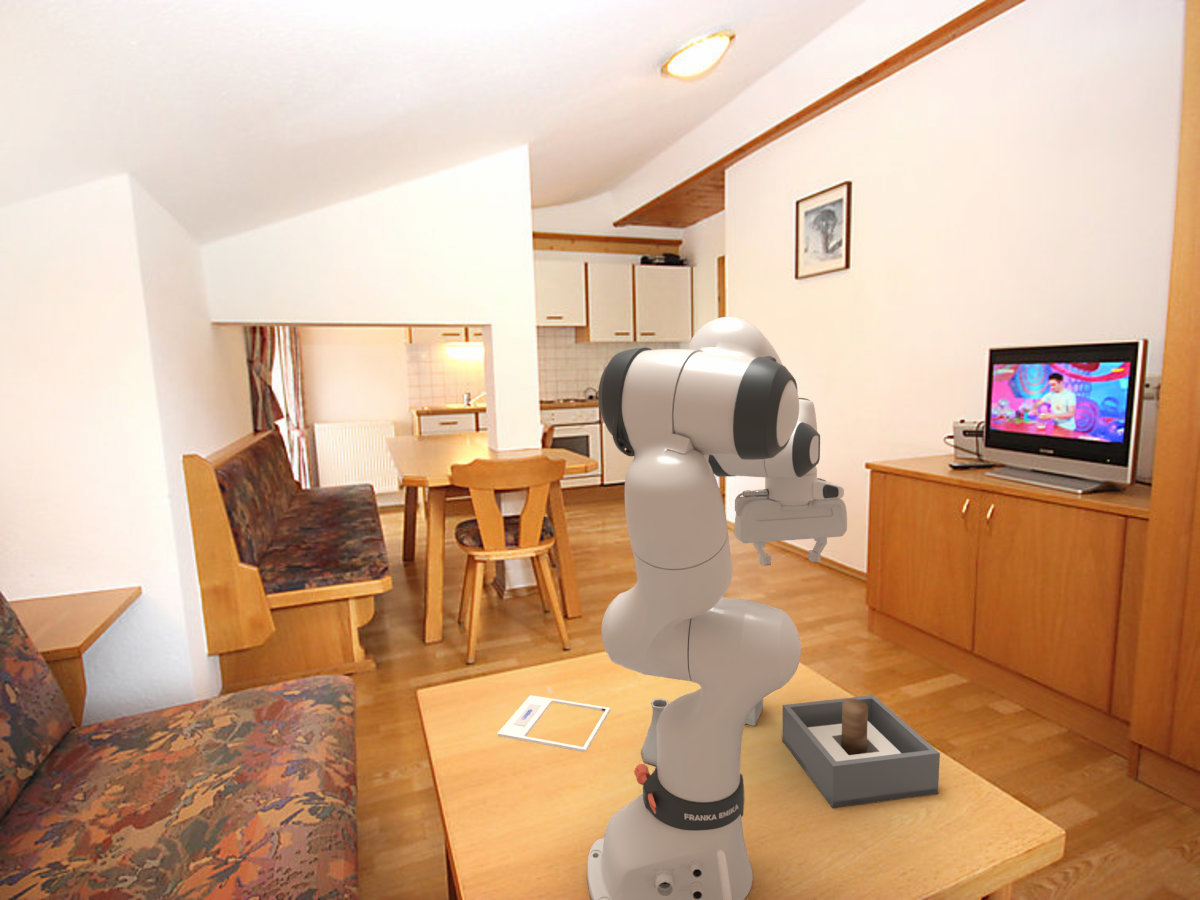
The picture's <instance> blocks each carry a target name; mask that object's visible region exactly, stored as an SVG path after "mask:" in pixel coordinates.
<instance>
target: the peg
mask: <svg viewBox="0 0 1200 900" xmlns="http://www.w3.org/2000/svg"><path fill="white" fill-rule="evenodd" d="M867 720H868V706H867V704H866V703H864V702H862V701H860V700H857V699H846V700H844V701H843V702H842V744H841V747H842V748H843V750H844V751H845V752H846V753H847V754H848V755H856V754H864V753H867Z"/></svg>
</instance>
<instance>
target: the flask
mask: <svg viewBox="0 0 1200 900" xmlns="http://www.w3.org/2000/svg"><path fill="white" fill-rule="evenodd" d="M669 703H670V702H669V701H668V700H667V699H665V698H661V697H660V698H653V699H652V700H651V702H650V704H651V708H652V715H651V721H650V725H649V728H648V731H647V733H646V736H645V740H644V742H643V745H642V746H641V749H640V753H641V757H642V760H643V762H644V763H645V764H646V763H647V764H650V765H653V766H655V767H656V766H657V722H658V719H659V716H660V714H661V712H662V711H663V709H664V708H665V707H666V706H667V705H668V704H669Z"/></svg>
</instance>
